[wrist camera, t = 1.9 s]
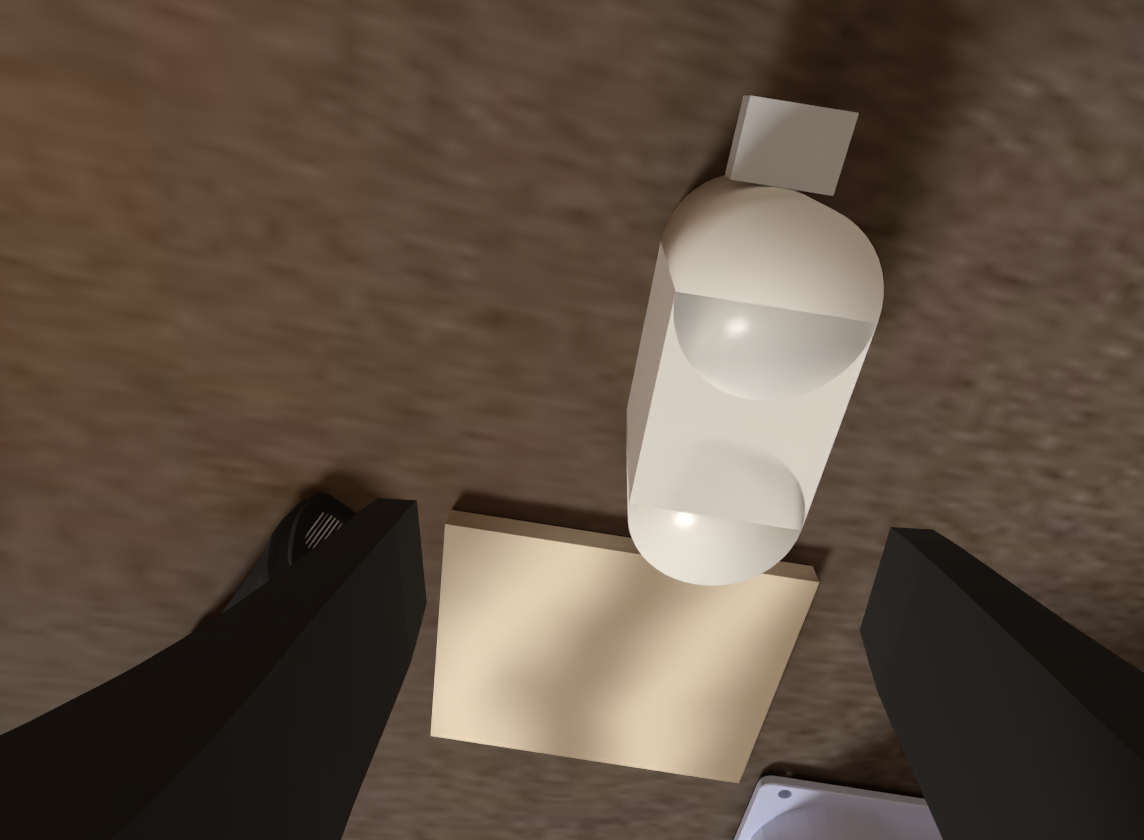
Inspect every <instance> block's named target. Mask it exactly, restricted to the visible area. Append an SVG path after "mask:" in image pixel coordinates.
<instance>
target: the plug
mask: <svg viewBox="0 0 1144 840" xmlns="http://www.w3.org/2000/svg"><path fill="white" fill-rule="evenodd" d="M858 115H859V113H856V112H850V111H844V110H838V109H831V108H825V107H819V106H813V105H807V104H800V103H794V102H788V101H782V100H776V99H769V98H763V97H757V96H751V95H747V96H743V100H742V104H741V108H740V113H739V117H738V121H737V125H736V130H735V134H734V138H733V143H732V147H731V151H730V155H729V160H728V164H727V168H726V172H725V175H723V176H720V177H717V178H714V179H712V180H710V181H708V182H705V183H703V184H702V185H700V186H699V187H697V188H696V189H694V190H693V191H692V192H691V193H689V194H688V195H687V196H686V197H685V198H684V199H683V200H682V201H681V202H680V203H679V205H678V206H677V207H676V209H675V210H674V211H673V213H672V215H671V216H670V218H669V220H668V222H667V224H666V227H665V229H664V231H663V235H662V239H661V243H660V248H659V253H658V258H657V263H656V268H655V273H654V278H653V283H652V288H651V293H650V297H649V302H648V307H647V312H646V317H645V322H644V327H643V332H642V337H641V342H640V347H639V352H638V357H637V362H636V367H635V372H634V377H633V382H632V387H631V392H630V397H629V402H628V407H627V412H626V454H627V500H628V525H629V531H630V534H631V537H632V540H633V542H634V544H635V546H636V548H637V549H638V551H639V552H640V553H641V555H642V556H643V557H644V558H645V559H646V560H647V561H648V562H649V563H650V564H651V565H652V566H653V567H655V568H656V569H657V570H659V571H660V572H662V573H664V574H665V575H667V576H670V577H672V578H674V579H677V580H680V581H683V582H686V583H691V584H696V585H705V586H718V585H728V584H733V583H738V582H741V581H745V580H748V579H751V578H753V577H755V576H757V575H760V574H761V573H763V572H765V571H767V570H769V569H770V568H771V567H773V566H774V565H775V564H777V563H778V562H779V561H780V560H781V559H782V558H783V557H785V555H786V554H787V553H788V552H789V551H790V550H791V548H792V547H793V545H794V544H795V542H796V541H797V539H798V537H799V534H800V532H801V530H802V527H803V524H804V522H805V519H806V516H807V514H808V511H809V508H810V505H811V503H812V500H813V497H814V495H815V492H816V489H817V486H818V484H819V481H820V478H821V476H822V473H823V470H824V467H825V465H826V462H827V459H828V457H829V454H830V451H831V448H832V446H833V443H834V440H835V438H836V435H837V432H838V430H839V427H840V424H841V421H842V419H843V416H844V413H845V411H846V408H847V405H848V402H849V400H850V397H851V394H852V392H853V389H854V386H855V383H856V381H857V378H858V375H859V373H860V370H861V367H862V364H863V362H864V359H865V356H866V354H867V351H868V348H869V345H870V343H871V340H872V337H873V335H874V332H875V329H876V326H877V324H878V320H879V317H880V314H881V310H882V304H883V296H884V282H883V274H882V269H881V265H880V262H879V258H878V256H877V254H876V252H875V250H874V247H873V246H872V244H871V243H870V241H869V239H868V238H867V236H866V235H865V234H864V233H863V232H862V231H861V230H860V228H859V227H858V226H857V225H856V224H854V223H853V222H852V221H851V220H849V219H848V218H847V217H845V216H844V215H842V214H840V213H838V212H837V211H835V210H833V209H831V208H829V207H827V206H825V205H823V204H821V203H820V202H818V201H816V200H814V199H812V198H810V197H808V196H806V195H804V194H802V193H800V192H798V191H796V190H799V191H805V192H811V193H818V194H824V195H830V196H834V192H835V189H836V186H837V183H838V179H839V176H840V173H841V170H842V166H843V163H844V160H845V157H846V153H847V150H848V147H849V144H850V141H851V137H852V134H853V131H854V128H855V124H856V121H857V118H858Z"/></svg>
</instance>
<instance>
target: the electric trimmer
mask: <svg viewBox="0 0 1144 840" xmlns="http://www.w3.org/2000/svg"><path fill="white" fill-rule="evenodd" d="M355 515H356V513H355V512H353V511H352V510H350V509H349V508H348V507H346V506H345V505H343V504H342V503H340V502H339V501H337V500H336V499H335V498H333V497H332V496H330V495H328V494H318V495H316V496H314V497H313V498H311V499H310V500H309V501H308V500H305V501H303V502H301V503H299V504H298V505H297V506H296V507H295V508H294V509H293V510H292V511H291V512H290V513H289V514H287V515H286V516H285V517H284V518H283V519H282V521H281V522H280V524H279V525H278V527H277V528H276V529H275V531H274V532H273V534H272V536H271V538H270V540H269V542H268V544H267V547H266V549H265V551H264V553H263V556H262V557H261V559H260V560H259V561H258V563H257V564H256V565H255V567H254V568H253V570H252V571H251V572H250V574H249V575H248V577H247V578H246V579H245V581H244V582H243V583H242V585H241V586H240V588H239V589H238V590H237V592H236V593H235V595H234V596H233V597H232V599H231V600H230V601H229V603H228V604H227V605H226V607H225V608H224V609H223V611H222V612H221V613H220V614H222V613H223V612H225V611H226V610H228V609H229V608H231V607H232V606H233V605H235V604H236V603H238V602H239V601H241V600H242V599H244V598H245V597H246V596H248V595H249V594H251V593H252V592H254V591H255V590H257V589H258V588H259V587H261V586H262V585H264V584H265V583H267V582H268V581H270V580H271V579H272V578H274V577H275V576H277V575H278V574H280V573H281V572H282V571H284V570H285V569H286V568H288V567H289V566H290V565H292V564H293V563H294V562H295V561H297V560H298V559H299V558H301V557H302V556H303V555H305V554H306V553H307V552H309V551H310V550H311V549H313V548H314V547H315V546H317V545H318V544H319V543H321V542H322V541H323V540H324V539H326V538H327V537H328V536H330V535H331V534H332V533H333V532H335V531H336V530H337V529H338V528H340V527H341V526H342V525H344V524H345V523H346V522H347V521H349V520H350V519H351V518H352V517H354V516H355ZM220 614H219V615H220Z"/></svg>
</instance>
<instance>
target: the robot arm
mask: <svg viewBox="0 0 1144 840" xmlns="http://www.w3.org/2000/svg"><path fill="white" fill-rule="evenodd" d="M426 603H427V602H426V592H425V582H424V571H423V561H422V550H421V540H420V529H419V519H418V508H417V500H400V499H382V498H378V499H376V500H375V501H374V502H372V503H371V504H369V505H368V506H367V507H365V508H364V509H363V510H362V511H360V512H359V513H358V514H356V515H355V516H354V517H352V518H351V519H350V520H349V521H347V522H346V523H345V524H344V525H342V526H341V527H340V528H338V529H337V530H336V531H335V532H333V533H332V534H331V535H330V536H328V537H327V538H326V539H324V540H323V541H322V542H321V543H319V544H318V545H317V546H315V547H314V548H313V549H311V550H310V551H309V552H307V553H306V554H305V555H303V556H302V557H301V558H299V559H298V560H297V561H295V562H294V563H293V564H292V565H290V566H289V567H288V568H286V569H285V570H284V571H282V572H281V573H280V574H278V575H277V576H275V577H274V578H272V579H271V580H270V581H268V582H267V583H265V584H264V585H262V586H261V587H259V588H258V589H257V590H255V591H254V592H252V593H251V594H249V595H248V596H246V597H245V598H244V599H242V600H241V601H239V602H238V603H236V604H235V605H233V606H232V607H231V608H229V609H228V610H226V611H225V612H223V613H222V614H220V615H219V616H218V617H216V618H215V619H213V620H211V621H210V622H208V623H207V624H205V625H204V626H202V627H201V628H199V629H197V630H196V631H194V632H193V633H191V634H189V635H188V636H186V637H185V638H183V639H181V640H180V641H178V642H176V643H175V644H173V645H171V646H170V647H168V648H166V649H164V650H163V651H161V652H159V653H158V654H156V655H154V656H152V657H151V658H149V659H147V660H146V661H144V662H142V663H140V664H139V665H137V666H135V667H133V668H132V669H130V670H128V671H126V672H124V673H123V674H121V675H119V676H117V677H115V678H113V679H111V680H109V681H108V682H106V683H104V684H102V685H100V686H98V687H96V688H94V689H92V690H90V691H88V692H86V693H84V694H82V695H80V696H78V697H76V698H74V699H72V700H71V701H69V702H67V703H65V704H63V705H61V706H59V707H57V708H55V709H53V710H51V711H49V712H47V713H45V714H43V715H41V716H39V717H37V718H35V719H34V720H32V721H30V722H28V723H25V724H23V725H21V726H19V727H17V728H15V729H13V730H11V731H9V732H6V733H4V734H2V735H0V840H341V838H342V835H343V833H344V830H345V827H346V824H347V821H348V819H349V816H350V813H351V810H352V808H353V805H354V802H355V800H356V797H357V795H358V792H359V790H360V787H361V785H362V782H363V780H364V778H365V775H366V773H367V770H368V768H369V765H370V763H371V760H372V758H373V755H374V753H375V750H376V748H377V745H378V743H379V741H380V738H381V736H382V733H383V731H384V728H385V726H386V723H387V721H388V718H389V716H390V713H391V711H392V708H393V706H394V703H395V701H396V698H397V696H398V693H399V691H400V688H401V686H402V683H403V681H404V678H405V676H406V673H407V671H408V668H409V665H410V663H411V660H412V656H413V652H414V649H415V645H416V641H417V638H418V634H419V630H420V626H421V622H422V618H423V614H424V611H425V607H426ZM860 632H861V636H862V639H863V643H864V647H865V650H866V654H867V657H868V661H869V665H870V668H871V671H872V674H873V678H874V681H875V684H876V687H877V691H878V694H879V696H880V698H881V701H882V703H883V706H884V708H885V710H886V713H887V715H888V717H889V719H890V722H891V724H892V726H893V729H894V731H895V733H896V736H897V738H898V740H899V742H900V745H901V747H902V749H903V751H904V754H905V756H906V758H907V760H908V763H909V765H910V767H911V769H912V772H913V774H914V776H915V778H916V781H917V783H918V785H919V787H920V789H921V792H922V794H923V796H924V798H925V799H923V798H916V797H910V796H903V795H897V794H890V793H884V792H877V791H871V790H864V789H858V788H851V787H845V786H838V785H832V784H825V783H819V782H812V781H806V780H799V779H793V778H786V777H780V776H772V775H769V776H764V777H763V778H761V779H760V780H759V782H758V783H757V786H756V788H755V791H754V793H753V795H752V798H751V800H750V802H749V805H748V807H747V810H746V812H745V814H744V817H743V819H742V821H741V824H740V826H739V828H738V831H737V833H736V836H735V838H734V840H1144V672H1142V671H1140V670H1139V669H1137V668H1136V667H1134V666H1133V665H1131V664H1129V663H1128V662H1126V661H1125V660H1123V659H1122V658H1120V657H1119V656H1117V655H1115V654H1114V653H1112V652H1111V651H1109V650H1108V649H1106V648H1105V647H1103V646H1102V645H1100V644H1099V643H1097V642H1096V641H1094V640H1093V639H1091V638H1090V637H1088V636H1087V635H1085V634H1084V633H1082V632H1081V631H1079V630H1078V629H1076V628H1075V627H1074V626H1072V625H1071V624H1069V623H1068V622H1066V621H1065V620H1063V619H1062V618H1060V617H1059V616H1058V615H1056V614H1055V613H1053V612H1052V611H1050V610H1049V609H1048V608H1046V607H1045V606H1043V605H1042V604H1040V603H1039V602H1038V601H1036V600H1035V599H1033V598H1032V597H1030V596H1029V595H1028V594H1026V593H1025V592H1023V591H1022V590H1021V589H1019V588H1018V587H1016V586H1015V585H1013V584H1012V583H1011V582H1009V581H1008V580H1006V579H1005V578H1004V577H1002V576H1001V575H999V574H998V573H997V572H995V571H994V570H992V569H991V568H990V567H988V566H987V565H985V564H984V563H982V562H981V561H980V560H978V559H977V558H975V557H974V556H972V555H971V554H969V553H968V552H967V551H965V550H964V549H962V548H961V547H959V546H958V545H956V544H955V543H953V542H952V541H950V540H949V539H947V538H946V537H944V536H942V535H941V534H939V533H937V532H936V531H934V530H931V529H914V528H896V527H891V528H890V531H889V534H888V538H887V541H886V544H885V548H884V551H883V554H882V558H881V561H880V564H879V568H878V571H877V574H876V578H875V581H874V585H873V588H872V591H871V595H870V598H869V601H868V605H867V608H866V611H865V615H864V618H863V621H862V625H861V628H860Z"/></svg>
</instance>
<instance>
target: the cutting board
mask: <svg viewBox="0 0 1144 840" xmlns="http://www.w3.org/2000/svg"><path fill="white" fill-rule="evenodd" d="M818 585H819V580H818V578H817V576H816V573H815V571H814V568H813V566H808V565H801V564H795V563H788V562H782V561H779V562H778V563H777V564H775V565H774V566H773V567H771V568H770V569H769V570H767V571H765V572H763V573H761V574H760V575H757V576H755V577H753V578H751V579H748V580H745V581H741V582H738V583H733V584H728V585H718V586H705V585H696V584H691V583H686V582H683V581H680V580H677V579H674V578H672V577H670V576H667V575H665V574H664V573H662V572H660V571H659V570H657V569H656V568H655V567H653V566H652V565H651V564H650V563H649V562H648V561H647V560H646V559H645V558H644V557H643V556H642V555H641V553H640V552H639V551H638V549H637V548H636V546H635V544H634V542H633V540H632V538H628V537H622V536H616V535H609V534H603V533H596V532H590V531H584V530H577V529H571V528H564V527H558V526H552V525H545V524H539V523H532V522H526V521H520V520H513V519H507V518H500V517H494V516H488V515H481V514H475V513H468V512H462V511H456V510H451V511H450V514H449V516H448V519H447V521H446V523H445V535H444V549H443V564H442V578H441V593H440V607H439V622H438V636H437V651H436V665H435V680H434V694H433V709H432V723H431V736H435V737H441V738H448V739H454V740H461V741H467V742H474V743H480V744H487V745H493V746H500V747H506V748H513V749H519V750H526V751H532V752H539V753H545V754H552V755H558V756H565V757H571V758H578V759H584V760H591V761H597V762H604V763H610V764H617V765H623V766H630V767H636V768H643V769H649V770H656V771H662V772H669V773H675V774H682V775H688V776H695V777H701V778H708V779H714V780H721V781H728V782H734V783H739V781H740V779H741V776H742V774H743V771H744V769H745V766H746V764H747V761H748V759H749V756H750V754H751V751H752V749H753V746H754V744H755V741H756V739H757V736H758V734H759V732H760V729H761V727H762V724H763V722H764V719H765V717H766V714H767V712H768V709H769V707H770V704H771V702H772V699H773V697H774V694H775V692H776V689H777V687H778V684H779V682H780V679H781V677H782V674H783V672H784V669H785V667H786V664H787V662H788V659H789V657H790V654H791V652H792V649H793V647H794V644H795V642H796V639H797V637H798V634H799V632H800V629H801V627H802V624H803V622H804V619H805V617H806V614H807V612H808V609H809V607H810V605H811V602H812V600H813V597H814V595H815V592H816V590H817V587H818Z"/></svg>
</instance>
